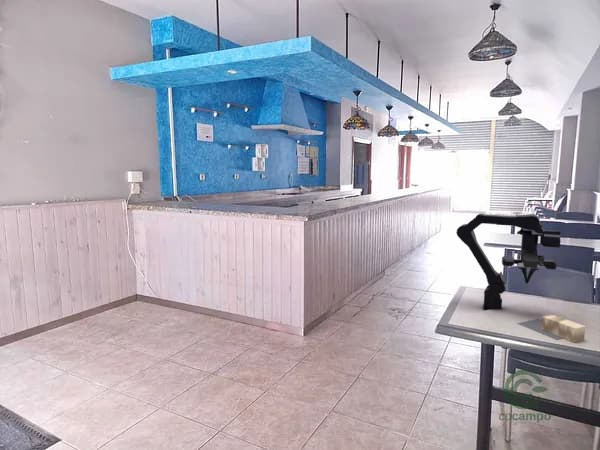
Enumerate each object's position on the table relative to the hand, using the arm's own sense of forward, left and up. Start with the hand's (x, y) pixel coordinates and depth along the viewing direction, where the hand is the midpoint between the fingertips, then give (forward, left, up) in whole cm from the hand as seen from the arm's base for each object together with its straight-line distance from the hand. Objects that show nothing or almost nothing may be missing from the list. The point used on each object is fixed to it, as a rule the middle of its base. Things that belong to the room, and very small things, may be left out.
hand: (526, 283), depth 160 cm
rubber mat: (+6, -16, -13) cm, 21 cm away
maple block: (+5, -15, -10) cm, 19 cm away
